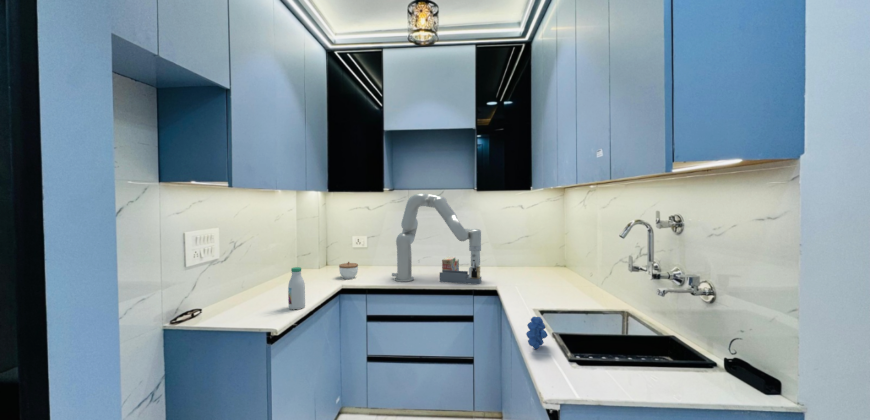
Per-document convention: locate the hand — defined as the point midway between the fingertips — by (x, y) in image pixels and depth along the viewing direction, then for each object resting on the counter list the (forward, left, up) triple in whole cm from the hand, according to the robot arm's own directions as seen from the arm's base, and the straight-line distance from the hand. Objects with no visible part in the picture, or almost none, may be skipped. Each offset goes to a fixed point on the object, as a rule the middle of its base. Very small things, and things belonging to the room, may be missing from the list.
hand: (475, 276), depth 227 cm
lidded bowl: (-86, -9, -4) cm, 86 cm away
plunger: (-7, 0, -1) cm, 7 cm away
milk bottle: (-78, -75, -4) cm, 108 cm away
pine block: (0, 0, -1) cm, 1 cm away
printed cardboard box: (-21, +20, -4) cm, 29 cm away
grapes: (+38, -94, -4) cm, 102 cm away
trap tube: (-10, 0, -4) cm, 10 cm away
